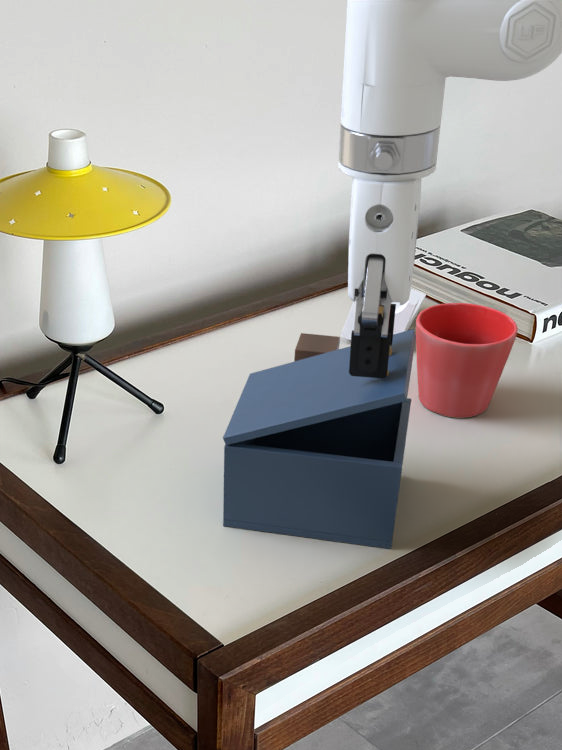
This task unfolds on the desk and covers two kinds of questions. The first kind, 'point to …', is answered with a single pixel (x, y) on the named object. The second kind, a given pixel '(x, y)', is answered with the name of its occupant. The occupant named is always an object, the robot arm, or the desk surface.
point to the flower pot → (461, 356)
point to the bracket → (402, 314)
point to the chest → (321, 478)
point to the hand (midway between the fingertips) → (371, 358)
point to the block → (315, 345)
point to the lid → (318, 391)
